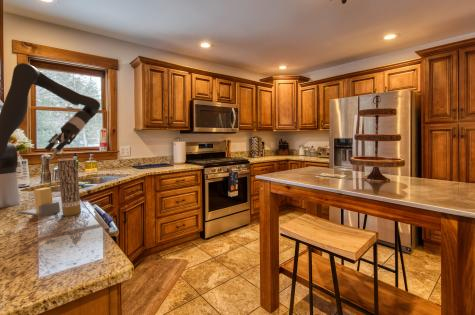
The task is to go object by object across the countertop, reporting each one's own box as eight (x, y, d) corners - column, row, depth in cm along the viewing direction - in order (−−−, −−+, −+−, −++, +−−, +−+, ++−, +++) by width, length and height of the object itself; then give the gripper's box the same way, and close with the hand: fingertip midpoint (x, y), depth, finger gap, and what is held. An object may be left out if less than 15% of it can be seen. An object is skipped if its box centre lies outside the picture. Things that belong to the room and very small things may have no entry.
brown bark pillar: (64, 213, 112) (59, 158, 110) (82, 210, 115) (77, 157, 112) (61, 217, 106) (55, 159, 103) (79, 214, 108) (74, 158, 106)
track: (19, 213, 113) (17, 203, 113) (36, 209, 120) (35, 199, 120) (42, 217, 106) (41, 206, 106) (60, 212, 113) (58, 202, 112)
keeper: (36, 213, 110) (33, 189, 109) (47, 210, 114) (45, 187, 114) (42, 214, 109) (40, 190, 108) (53, 211, 113) (51, 188, 112)
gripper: (59, 122, 130) (36, 145, 121) (76, 121, 125) (54, 144, 115) (70, 132, 136) (49, 154, 126) (87, 131, 130) (67, 154, 121)
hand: (52, 149), depth 121 cm, fingers open, 8 cm apart
